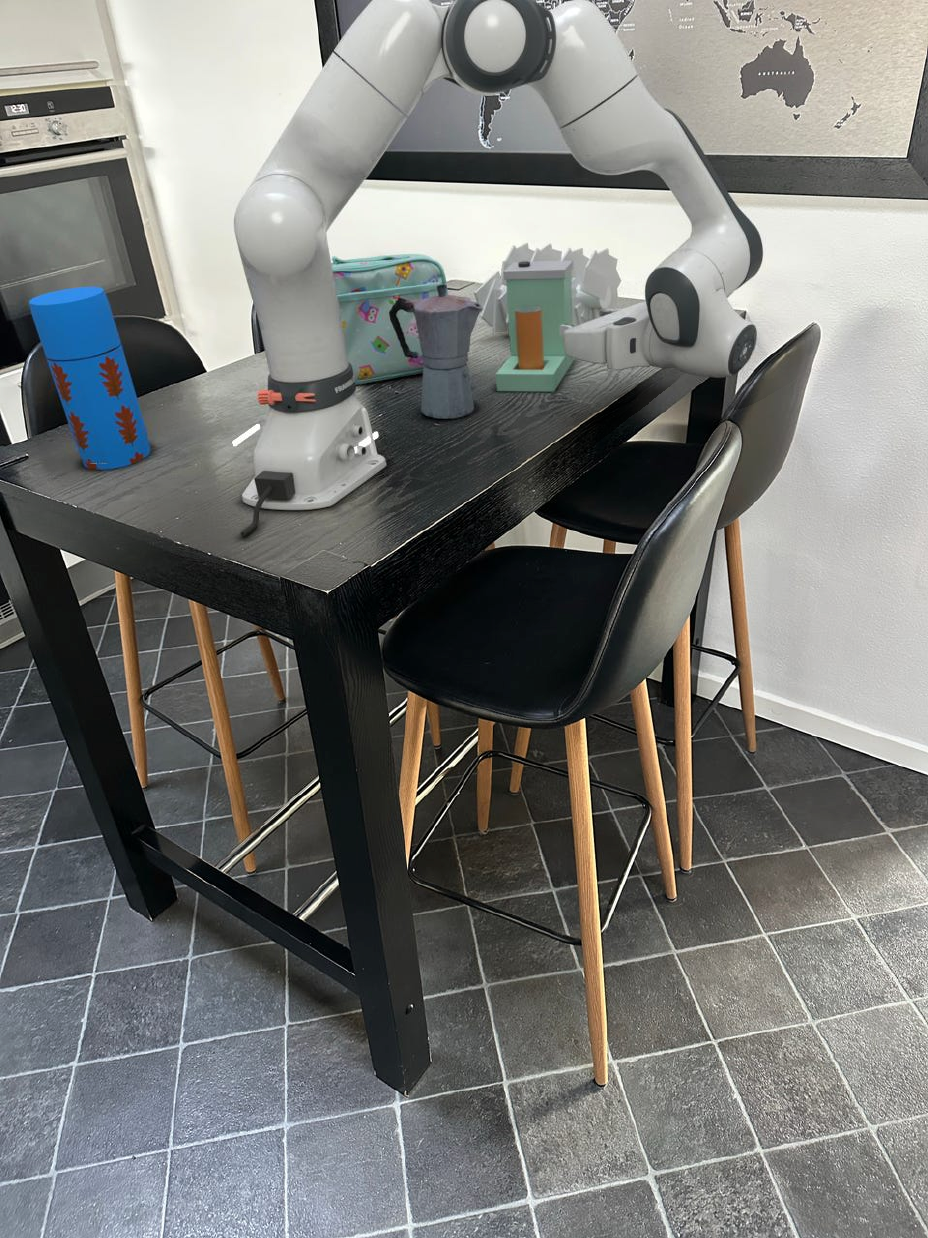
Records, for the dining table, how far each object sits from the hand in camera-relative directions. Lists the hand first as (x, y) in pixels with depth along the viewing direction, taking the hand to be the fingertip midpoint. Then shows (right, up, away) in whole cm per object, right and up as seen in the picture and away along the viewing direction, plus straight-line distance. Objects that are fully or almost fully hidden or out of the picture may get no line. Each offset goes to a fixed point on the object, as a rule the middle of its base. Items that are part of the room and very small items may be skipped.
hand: (582, 321), depth 144 cm
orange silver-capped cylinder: (-7, -6, +14) cm, 17 cm away
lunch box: (-34, -2, +25) cm, 42 cm away
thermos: (-74, -21, +2) cm, 77 cm away
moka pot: (-22, -13, +6) cm, 26 cm away
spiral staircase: (-2, +8, +35) cm, 36 cm away
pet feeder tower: (-4, -1, +21) cm, 21 cm away
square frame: (-7, -6, +14) cm, 17 cm away
